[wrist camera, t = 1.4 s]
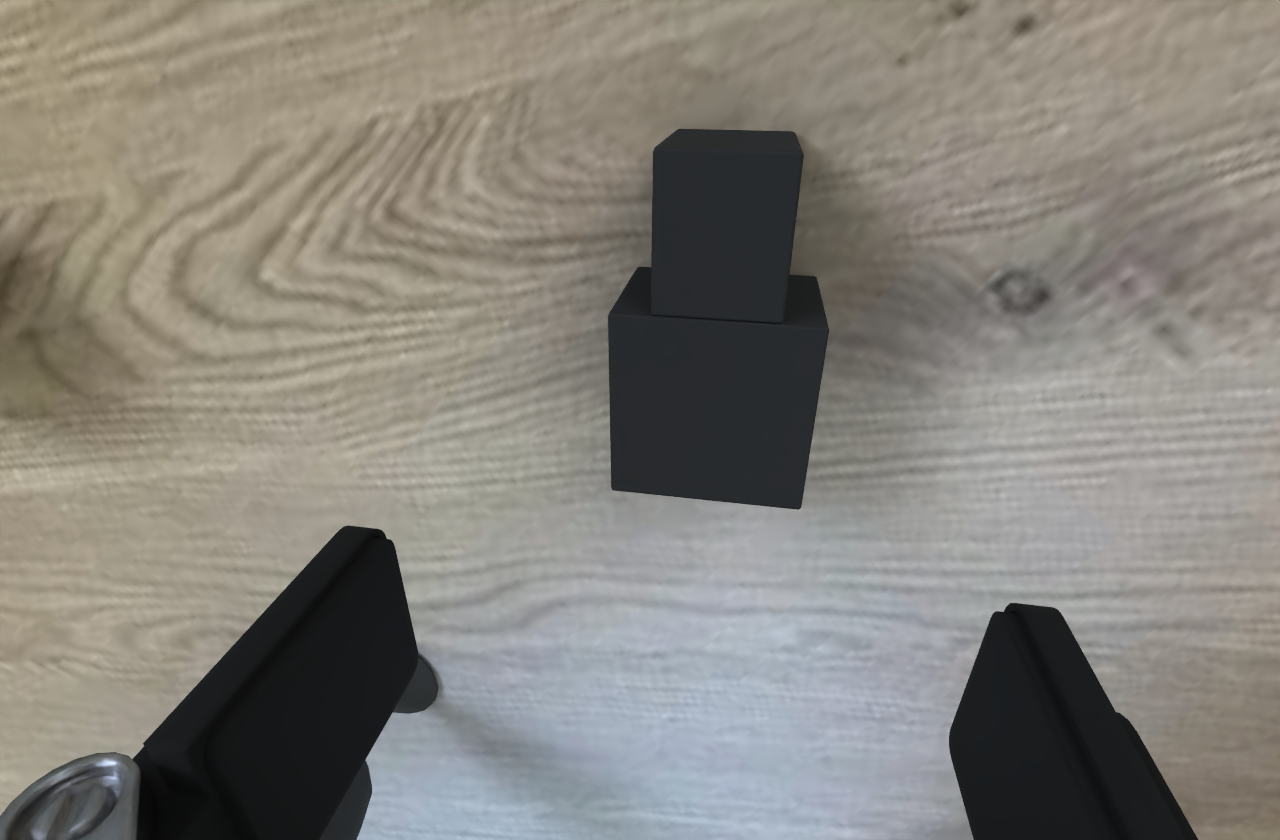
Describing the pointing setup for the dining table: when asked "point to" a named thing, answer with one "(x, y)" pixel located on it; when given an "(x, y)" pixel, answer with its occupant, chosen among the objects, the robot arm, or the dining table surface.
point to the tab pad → (718, 329)
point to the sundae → (355, 802)
